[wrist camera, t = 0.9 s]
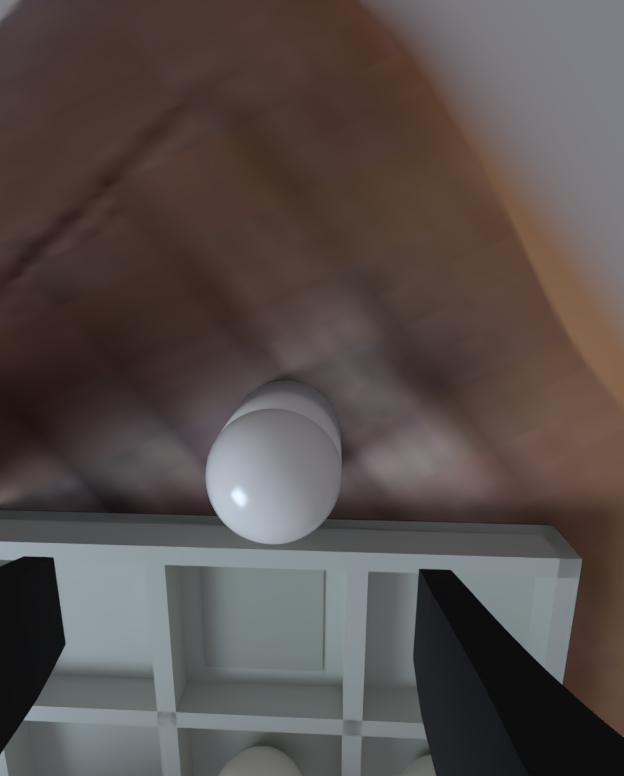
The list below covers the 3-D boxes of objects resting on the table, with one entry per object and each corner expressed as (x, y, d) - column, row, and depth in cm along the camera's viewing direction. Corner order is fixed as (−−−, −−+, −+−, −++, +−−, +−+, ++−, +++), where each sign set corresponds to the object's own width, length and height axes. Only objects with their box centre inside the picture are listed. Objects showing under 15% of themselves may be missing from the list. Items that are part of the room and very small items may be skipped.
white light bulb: (339, 484, 20) (341, 576, 14) (234, 481, 20) (191, 572, 14) (341, 381, 19) (345, 433, 13) (231, 379, 19) (183, 429, 13)
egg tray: (511, 822, 24) (530, 882, 21) (37, 797, 25) (6, 851, 22) (552, 525, 20) (582, 559, 17) (-12, 509, 21) (-56, 539, 18)
